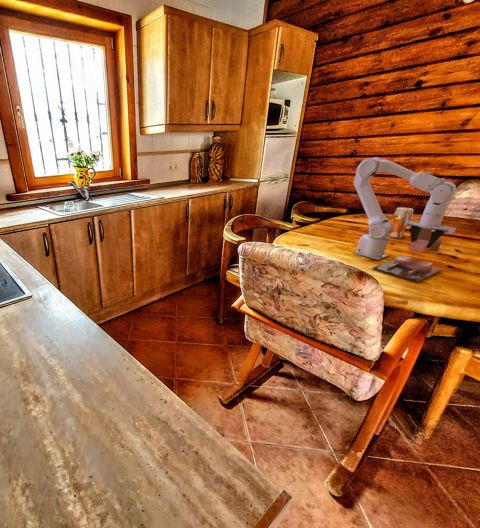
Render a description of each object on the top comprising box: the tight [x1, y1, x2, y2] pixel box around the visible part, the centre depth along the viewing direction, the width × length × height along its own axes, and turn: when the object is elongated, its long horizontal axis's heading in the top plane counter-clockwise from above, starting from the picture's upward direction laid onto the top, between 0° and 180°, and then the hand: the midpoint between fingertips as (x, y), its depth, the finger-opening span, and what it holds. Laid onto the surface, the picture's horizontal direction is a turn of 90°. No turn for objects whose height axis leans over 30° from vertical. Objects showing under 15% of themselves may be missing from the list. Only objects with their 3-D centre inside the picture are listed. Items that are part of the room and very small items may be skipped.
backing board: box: [373, 255, 441, 284], centre depth 112 cm, size 14×18×4 cm
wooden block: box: [417, 211, 442, 252], centre depth 129 cm, size 9×4×18 cm, turn 49°
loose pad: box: [408, 239, 431, 253], centre depth 114 cm, size 4×7×3 cm, turn 116°
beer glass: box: [388, 206, 415, 239], centre depth 146 cm, size 7×7×15 cm
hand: (420, 245), depth 114 cm, fingers closed on loose pad, 4 cm apart
